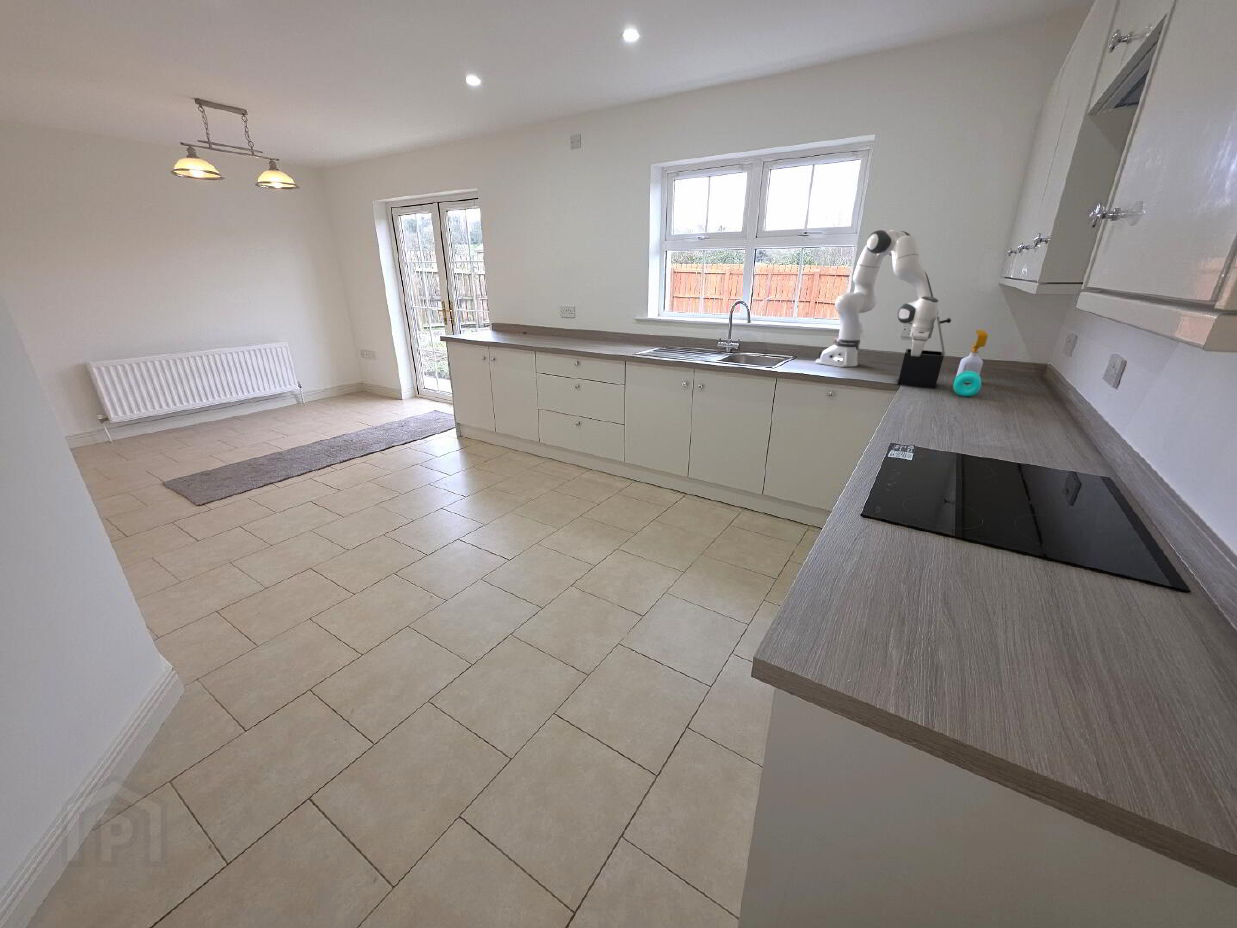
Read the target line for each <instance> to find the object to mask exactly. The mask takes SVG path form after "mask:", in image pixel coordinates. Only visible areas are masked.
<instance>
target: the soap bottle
mask: <svg viewBox="0 0 1237 928" xmlns="http://www.w3.org/2000/svg"><path fill="white" fill-rule="evenodd" d="M974 332H975V334H977V339H976V342H975V344H974V343H973V344H972V343H971V344H970V346H971V347H972V350H970V353H969V355H968V356H965V357H963V358H961V360H960V362H959V365H958V368H957V372H956V375H955V377H956V376H957V375H958V374H960V373H962V372H965V371H973V372H976V373H977V374H978V375H979V376H980V375H981V371H982V368H983V365H984V360H982V359H981V357H979V353H980V351H979V349H980V348H983V347H985V346H986V344H987V340H988V337H989V335H988V333H987V332H986V331H985V330H982V329H981V330H980V329H979V330H977V329H975V330H974ZM964 384H971V383H970V382H965V383H964Z"/></svg>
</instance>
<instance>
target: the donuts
mask: <svg viewBox="0 0 1237 928" xmlns="http://www.w3.org/2000/svg"><path fill="white" fill-rule="evenodd" d="M956 375H957V374H956ZM956 375H955V378H954V379H953V384H952V385H953V386H952V388H953V391H954V392H955V393H956V394H957V395H958V396H960V397H973V396H974V395H976V394H977V393H978V392H979V391H980V390H981V388H982V378H981V376H980V375H978V374H977V373H976V372H973V371H965V372H962V373H960V374H958V375H957V376H956ZM965 382H970V383H969V384H968V385H966V383H965Z"/></svg>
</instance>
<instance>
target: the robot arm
mask: <svg viewBox="0 0 1237 928" xmlns="http://www.w3.org/2000/svg"><path fill="white" fill-rule="evenodd" d="M887 255H889V256H891V261H892V270H893V274H894V276H895V277H896V278H898V280H902V281H904V282H906V283H909V284H910V285H911V286H913V287H914V289H915V291H916V295H917V300H914V301H911V302H906V303H903V304H902V305H901V306H900V307H899V308H898V311H897V320H898V321H899V323H901V324H905V325H908V324H911V328H910V332H909V337H910V338H911V341H912V343H911V349H912V350H911V356H917V357H919V356H920V355H921V352H922V350H924V348H925V345H926V342H928V340H930V339H931V338H932V335H933V331H934V328H935V321H936V320H937V317H938V315H939V307H940V300H939V299H937V297H934V295H933V290H932V286H931V282H930V280H929V279H930V278H929V277H928V273H927V272H926V270H925V269H924V267H923V265H922V264H921V263H922V262H921V259H920V253H919V248H918V244H917V242H916V238H915V237H914V236H912V235H911V234H910V233H909V232H907V231H904V230H896V229H888V230H887V229H886V230H883V229H879V230H875V231H872V232H871V233H870V234H869V236H868V237H867V239H866V243H865V246H864V247H863V249H862V251H861V254H860V256H859V258H858V260H857V263H856V266H855V269H854V273H853V276H852V282H853V283H854V291H853V292H846V293H843V294H840V295H839V296H838V297H837V298H836V299H835V302H834V308H835V310H836V312H838V315H839V323H840V325H839V330H838V331H839V332H838V337H835V338H834V339H833V344H832V345H830V346H829V347H827V348H825V349H823V350H819V352H818V358H817V359H815V364H818V365H824V366H825V365H826V366H832V367H841V368H847V367H857V366H859V364H858V354H859V349H860V346H861V334H862V329H863V324H862V322H861V321H860V317H859V316H860V314H863V313H867V312H870V311H872V310H873V309H874V308H875V307H876V305H877V296H876V295H875V284H876V280H877V277H878V273H879V270H880V267H881V264H882V262H883V259H884V258H885V257H886V256H887Z"/></svg>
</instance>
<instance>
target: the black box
mask: <svg viewBox="0 0 1237 928" xmlns="http://www.w3.org/2000/svg"><path fill="white" fill-rule="evenodd" d="M911 350H912V348H906V349H905V352H904V354H903V355H904V356H903V359H902V364H901V368H900V372H899V376H898V381H897V385H898V386H906V387H916V388H917V387H918V388H923V389H924V388H925V389H932V390H935V389H936V387H937V382H938V379H939V377H940V373H941V368H942V365H943V361H944V357H945V355H943V352H942V351H938V350H926V349H923V350H922V352H921V355H920V356H919V357H917V356H911Z"/></svg>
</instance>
